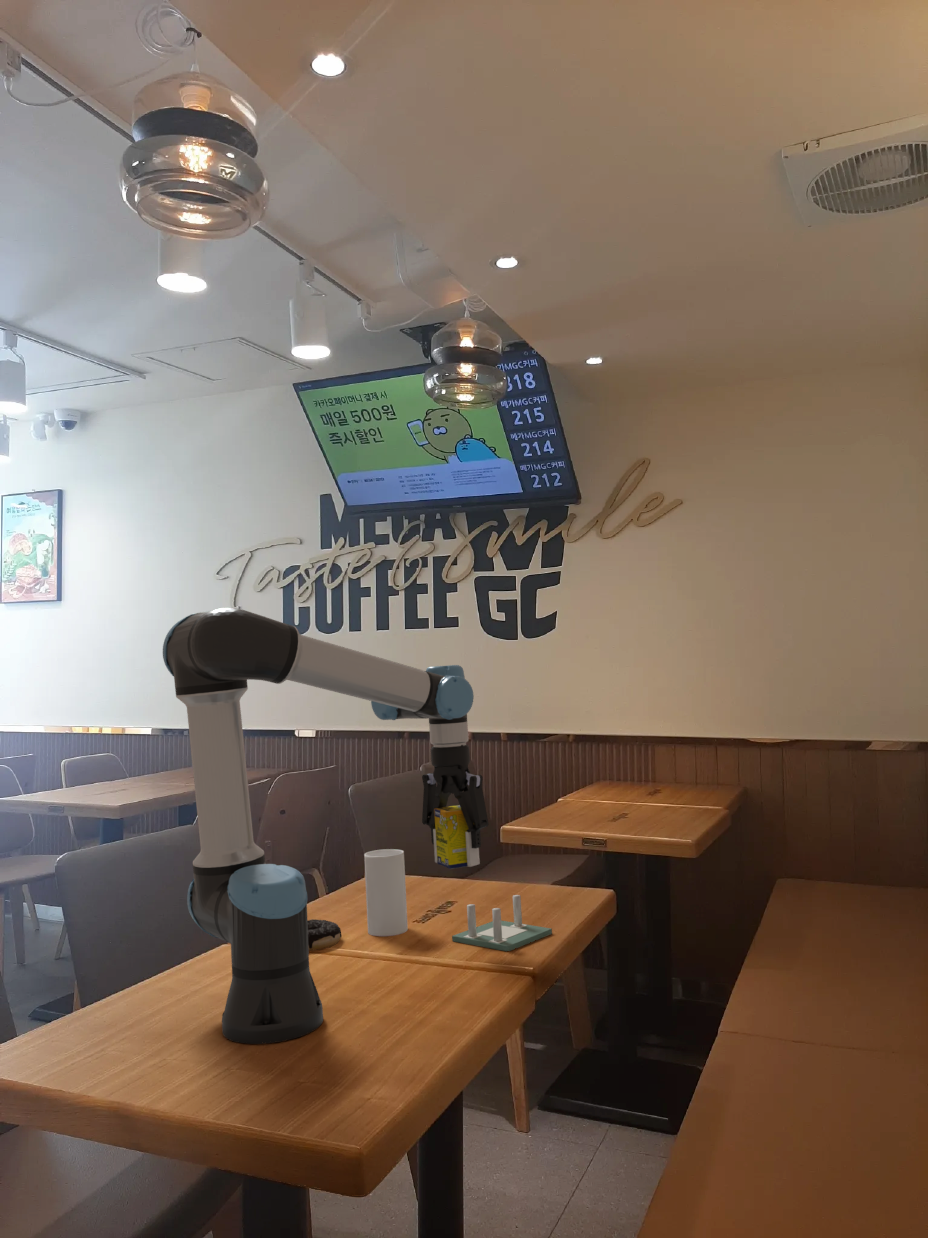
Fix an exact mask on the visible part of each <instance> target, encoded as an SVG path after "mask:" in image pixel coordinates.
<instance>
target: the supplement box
mask: <svg viewBox="0 0 928 1238" xmlns="http://www.w3.org/2000/svg"><path fill="white" fill-rule="evenodd" d="M434 814H435V830H436V848H437V863H436V864H437V865H439V866H441V867H445V868H447V869H449V870H455V869H460V868H465V867H466V868H467V867H468V864H467V849H466V833H465V832H467V831H466V830H468V826H467V823H466V821H465V818H464V815H463V812H462V810H461V807H460V804H459V805H458V804H457V805H450V806H446V807H441V808H435V809H434ZM473 824H474V823H473Z"/></svg>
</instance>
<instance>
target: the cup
mask: <svg viewBox="0 0 928 1238" xmlns="http://www.w3.org/2000/svg"><path fill="white" fill-rule="evenodd" d="M363 856H364V859H363V860H364V875H365V876H364V877H365V897H366V898H365V899H366V901H365V902H366V918H367V920H366V921H367V934H368V935H370V936H374V937H392V936H398V935H401V934H404V933H406V932H407V931H408V929H409V928H408V912H407V911H408V909H407V908H408V907H407V888H406V885H407V884H406V871H405V869H406V867H405V851H404V850H402V849H394V848H390V849H389V848H386V849H385V848H384V849H377V850H376V849H375V850H371V851H367V852H365V853H364V854H363Z"/></svg>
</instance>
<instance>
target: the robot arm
mask: <svg viewBox="0 0 928 1238" xmlns="http://www.w3.org/2000/svg"><path fill="white" fill-rule="evenodd" d="M162 659H163V662H164V665H165V667H166V669H167V670H168V672H169V673H170V675H171V676H172V677H173V679H174V690H175V697H176V699H178V700H179V701H180V702H182V703H183V704H184V705H185V706H186V712H187V713H186V714H187V715H186V716H187V723H188V733H189V743H190V753H191V754H190V755H191V763H192V765H191V766H192V772H193V775H192V776H193V783H194V784H193V785H194V794H195V804H196V813H197V823H198V832H199V834H198V835H199V844H200V852H199V853H198V854H197V855H196V857H195V858H194V859H193V860H192V868H193V869H192V870H193V879H192V881H190V884H189V885H188V889H187V895H186V896H187V897H186V901H187V902H186V904H187V909H188V912H189V915H190V916H191V918H192V920H193V921H194V923H195V924H196V925H197V926H198V927H199V928H200V929H201V930H202V931H203V932H204V933H205V934H208V935H209V936H211V937H213V938H216V939H220V940H222V941H224V942H226V943H228V944H230V956H231V981H230V987H229V990H228V994H227V998H226V1002H225V1006H224V1011H223V1013H222V1017H221V1030H222V1031H221V1032H222V1035H223V1037H224V1038H226V1039H228V1040H229V1041H233V1042H236V1043H241V1044H250V1045H251V1044H252V1045H253V1044H254V1045H259V1044H272V1043H279V1042H284V1041H289V1040H293V1039H297V1038H301V1037H303V1036H305V1035H307V1034H310V1033H312V1032H314V1031H315V1030H316V1029H318V1028H319V1027H320V1026H321V1025H322V1024H323V1021H324V1013H323V1012H324V1009H323V1003H322V1000H321V998H320V995H319V993H318V989H317V987H316V984H315V981H314V979H313V977H312V973H311V970H310V957H309V955H310V953H309V952H310V951H309V948H308V922H307V920H308V892H307V887H306V881H305V877H304V875H303V874H302V873H301V872H300V870H298V869H296V868H294V867H292V866H289V865H284V864H280V865H277V864H275V863H266V857H265V851H264V849H263V848H261V847H260V846H259V845H258V844H256V843H255V841H254V840H255V839H254V831H253V821H252V813H251V801H250V792H249V782H248V772H247V761H246V751H245V740H244V729H243V724H242V723H243V721H242V720H243V719H242V713H241V712H242V710H241V702H240V701H241V698H242V697H243V696H244V695H245V693H247V691H248V689H249V687H248V680H254V681H263V682H269V683H273V684H277V685H279V684H282V683H284V682H286V681H291V682H295V683H298V684H302V685H307V686H310V687H314V688H318V689H322V690H326V691H331V692H335V693H339V694H343V695H346V696H349V697H355V698H358V699H362V700H366V701H370V705H371V709H372V711H373V713H374V715H375V716H376V717H377V718H378V719H379V720H381V721H389V720H390V721H396V720H404V719H405V720H406V719H416V720H418V719H420V720H421V719H428V724H429V729H428V730H429V741H430V742H429V743H430V744H431V745H433V746H432V747H431V748H430V759H431V765H432V766H433V767H434V769H433V772H431V773H426V774H422V775H421V778H422V784H423V796H422V797H423V798H422V816H421V822H422V824H423V825H425V826H428V827H429V828H430V833H431V834H430V835H431V837H430V838H431V843H432V845H433V850H434V851H433V852H434V854H433V855H434V863H435V864H437V848H436V830H435V814H434V809H435V808H441V807H447V805H448V801H449V797H450V795H451V794H452V795H453V796H454V798H455V799H457V801H458V804H459V805H460V807H461V810H462V812H463V815H464V818H465V821H466V823H467V826H468V830H466V831H467V832H465V833H466V849H467V864H468V866H467V867H469V868H471V867H474V866H477V865H480V864H481V863H480V862H481V860H480V848H481V846H482V840H481V839H482V838H481V830H482V829H484V828H487V827H488V826H489V820H488V819H489V817H488V813H487V808H486V802H485V798H484V797H485V796H484V792H483V791H484V790H483V780H484V779H483V775H482V774H477V775H475V774H472V773H471V772H470V769H469V764H470V763H471V757H470V754H471V752H470V746H469V744H467V743H468V742H469V728H468V724H469V723H468V713H469V712H470V711H471V709H472V706H473V703H474V696H475V694H474V690H473V687H472V686H471V684H470V682H469V681H468V680H467V679H466V678H465V673H464V672H465V671H464V669H463V667H462V666H461V665H459V664H452V665H451V664H450V665H437V666H433V665H432V666H428V667H426V669H425V670H423V669H420V668H417V667H414V666H410V665H408V664H404V663H403V664H402V663H400V662H396V661H392V660H389V659H385V658H382V657H378V656H376V655H371V654H369V653H366V652H361V651H358V650H355V649H351V648H348V647H345V646H341V645H338V644H334V643H330V642H328V641H324V640H321V639H317V638H313V637H310V636H306V635H302V634H300V632H299V630H298V628H297V627H296V626H294V625H292V624H289V623H284V622H281V621H279V620H276V619H272V618H270V617H266V616H263V615H260V614H257V613H254V612H251V611H248V610H244V609H242V608H235V607H221V608H220V607H219V608H216V609H212V610H206V611H200V612H196V613H191V614H189V615H187V616H185V617H183V618H182V619H180V620H179V621H177V622H176V623H174V625H173V626H172V627H171V628H170V629H169V630H168V632H167V633H166V636H165V638H164V642H163V644H162ZM473 823H474V824H473Z"/></svg>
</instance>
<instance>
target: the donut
mask: <svg viewBox="0 0 928 1238" xmlns="http://www.w3.org/2000/svg"><path fill="white" fill-rule="evenodd" d="M307 922H308V948H309V952H310V951H318V950H323V949H327V948H331V947H333V946H334V945H336V944H338V943H339V941H340V940H341V938H342V936H343V935H342V929H341V928H340V926H339V924H337V923H336V922H333V921H330V920H327V919H307Z"/></svg>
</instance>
